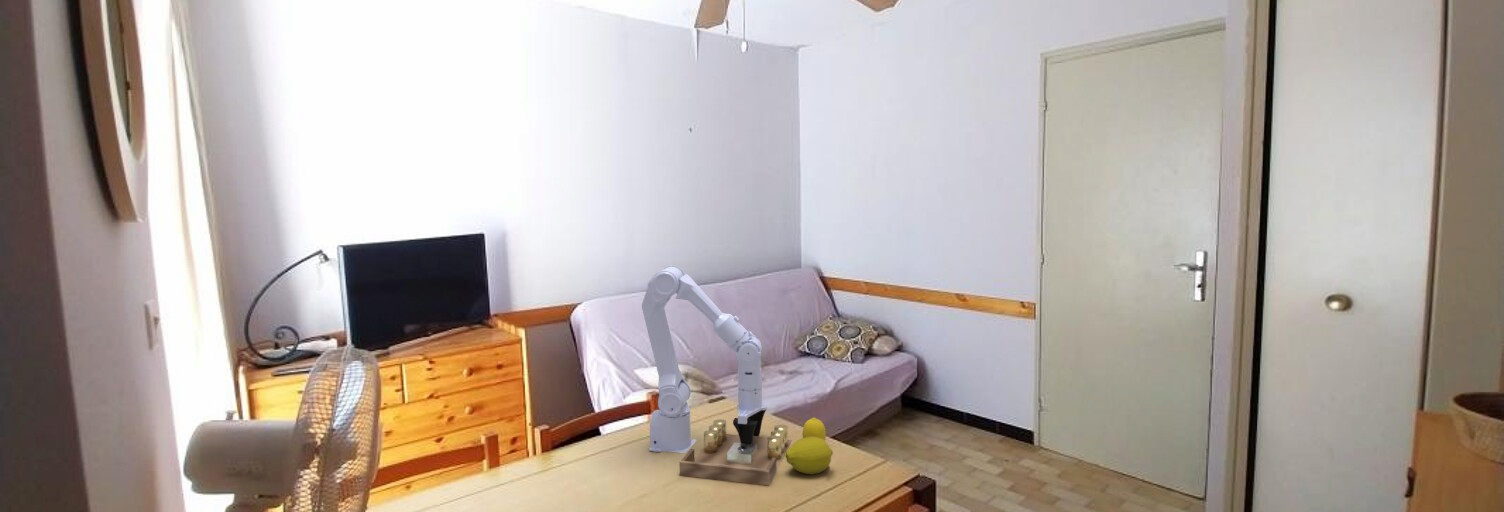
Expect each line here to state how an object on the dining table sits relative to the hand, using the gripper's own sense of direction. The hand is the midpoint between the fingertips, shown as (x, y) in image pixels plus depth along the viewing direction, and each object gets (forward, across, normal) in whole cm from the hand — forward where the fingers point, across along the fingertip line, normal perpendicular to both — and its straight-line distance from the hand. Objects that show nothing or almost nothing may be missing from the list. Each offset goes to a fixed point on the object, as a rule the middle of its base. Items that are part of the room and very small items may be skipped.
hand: (750, 441), depth 151 cm
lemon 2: (+2, -10, -16) cm, 19 cm away
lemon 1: (+2, +2, -15) cm, 15 cm away
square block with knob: (+1, -7, 0) cm, 7 cm away
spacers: (+1, -1, +1) cm, 2 cm away
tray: (+2, -6, +1) cm, 7 cm away
